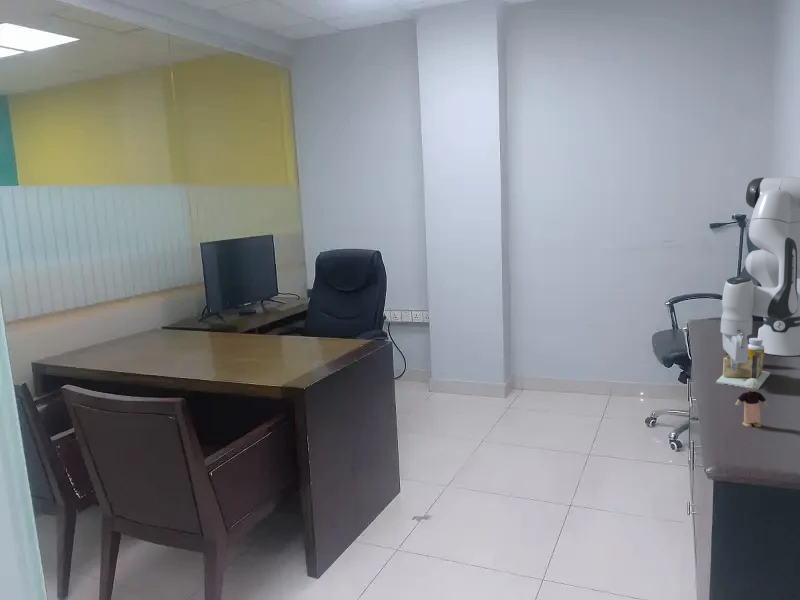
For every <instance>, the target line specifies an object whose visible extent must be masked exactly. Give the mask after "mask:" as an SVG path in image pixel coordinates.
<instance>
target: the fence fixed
mask: <svg viewBox="0 0 800 600" xmlns="http://www.w3.org/2000/svg"><path fill="white" fill-rule="evenodd" d="M762 358H763V353H762V352H761V351H757V353H755V355H753V362H752V378H754V379H756V378H757V377H758V376H759V375H760V373H761V372H762V371H763V367H762Z"/></svg>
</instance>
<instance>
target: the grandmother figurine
mask: <svg viewBox="0 0 800 600" xmlns="http://www.w3.org/2000/svg"><path fill="white" fill-rule="evenodd" d="M759 386H760V384H759V383H758V380H757V379H754V378H750V379H747V380H746V382H745V387H746V388H745V387H744V388H745V389H747V392H742V393H741V394H740V395H739V396H738V398H737V400H736V402H735V404H734V405H735V406H737V407H740V405H741V404H742V403H743V402H744V406H743V408H744V409H743V410H744V411H743V421H742V423H741V424H742V426H745V427H747V428H752V427H753V426H754V427H756V428H760V427H762V423H761V408H760V402H761V403H762V405H763V407H764V408H768V407H769V404H768V402H767V399H766V398H765V397H764V395H763V394H762V393H761V392H758V390H759V389H760V388H759ZM760 387H761V386H760ZM758 388H759V389H758Z"/></svg>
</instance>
